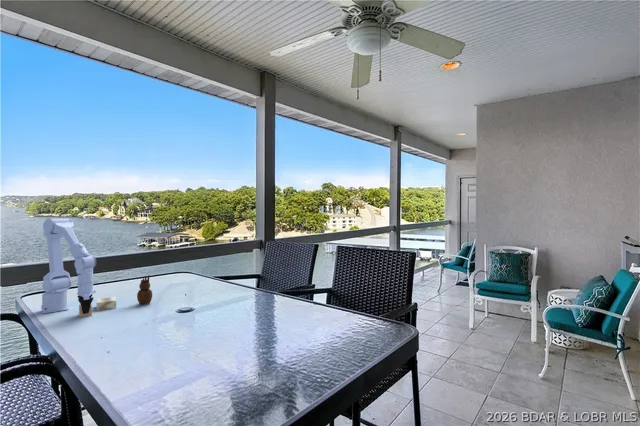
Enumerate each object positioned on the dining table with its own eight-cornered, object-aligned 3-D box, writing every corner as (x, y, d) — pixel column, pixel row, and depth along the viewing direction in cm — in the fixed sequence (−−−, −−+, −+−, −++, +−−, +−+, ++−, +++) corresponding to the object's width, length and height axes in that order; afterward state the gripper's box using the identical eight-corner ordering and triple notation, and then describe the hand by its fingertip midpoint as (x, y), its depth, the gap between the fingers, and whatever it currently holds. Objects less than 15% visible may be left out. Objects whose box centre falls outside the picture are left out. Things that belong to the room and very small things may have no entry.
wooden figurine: (154, 302, 169) (154, 273, 169) (147, 305, 164) (147, 276, 163) (142, 301, 170) (142, 273, 170) (134, 305, 164) (135, 275, 164)
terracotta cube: (79, 317, 146) (79, 307, 146) (79, 314, 149) (79, 304, 149) (91, 315, 149) (91, 305, 148) (91, 312, 152) (91, 303, 152)
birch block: (96, 311, 155) (96, 302, 155) (97, 306, 162) (97, 298, 162) (116, 308, 159) (116, 300, 159) (116, 304, 166) (116, 296, 166)
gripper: (97, 284, 145) (97, 314, 146) (94, 278, 157) (94, 306, 157) (77, 286, 141) (77, 317, 141) (76, 280, 152) (76, 309, 153)
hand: (85, 311), depth 149 cm, fingers closed on terracotta cube, 4 cm apart
